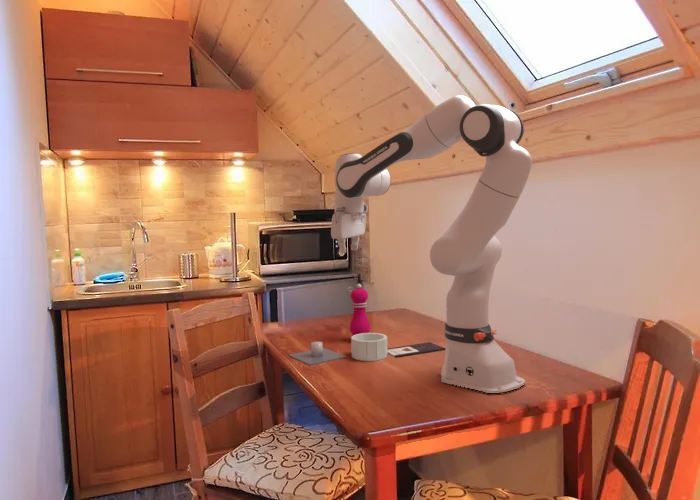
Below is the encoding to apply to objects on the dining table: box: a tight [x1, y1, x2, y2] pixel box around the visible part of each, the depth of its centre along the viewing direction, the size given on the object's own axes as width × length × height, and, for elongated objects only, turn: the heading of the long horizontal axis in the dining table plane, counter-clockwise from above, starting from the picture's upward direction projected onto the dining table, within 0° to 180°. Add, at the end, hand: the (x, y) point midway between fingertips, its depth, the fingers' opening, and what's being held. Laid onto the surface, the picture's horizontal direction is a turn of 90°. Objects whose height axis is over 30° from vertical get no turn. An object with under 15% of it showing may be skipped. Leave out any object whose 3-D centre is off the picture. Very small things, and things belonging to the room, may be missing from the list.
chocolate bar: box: [387, 341, 446, 359], centre depth 169 cm, size 9×1×18 cm
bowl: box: [350, 332, 389, 362], centre depth 163 cm, size 11×11×6 cm
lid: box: [288, 341, 347, 367], centre depth 164 cm, size 13×13×5 cm
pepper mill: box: [349, 283, 371, 338], centre depth 182 cm, size 7×7×20 cm
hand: (348, 251), depth 164 cm, fingers open, 8 cm apart
